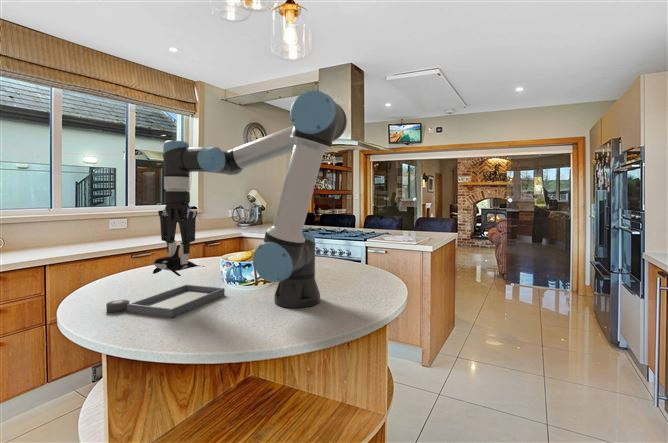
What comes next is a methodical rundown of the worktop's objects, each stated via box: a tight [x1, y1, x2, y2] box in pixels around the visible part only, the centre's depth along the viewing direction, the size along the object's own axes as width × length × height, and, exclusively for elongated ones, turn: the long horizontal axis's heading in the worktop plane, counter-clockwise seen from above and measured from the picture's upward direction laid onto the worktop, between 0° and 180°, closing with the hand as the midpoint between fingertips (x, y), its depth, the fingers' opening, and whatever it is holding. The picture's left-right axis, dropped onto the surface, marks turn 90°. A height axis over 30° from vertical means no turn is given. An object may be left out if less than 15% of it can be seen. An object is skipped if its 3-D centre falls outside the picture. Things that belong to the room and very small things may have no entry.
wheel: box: [105, 299, 130, 314], centre depth 110 cm, size 6×6×3 cm
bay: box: [126, 284, 226, 319], centre depth 118 cm, size 16×25×2 cm, turn 162°
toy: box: [152, 244, 206, 277], centre depth 117 cm, size 21×10×10 cm, turn 165°
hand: (178, 263), depth 117 cm, fingers closed on toy, 4 cm apart
